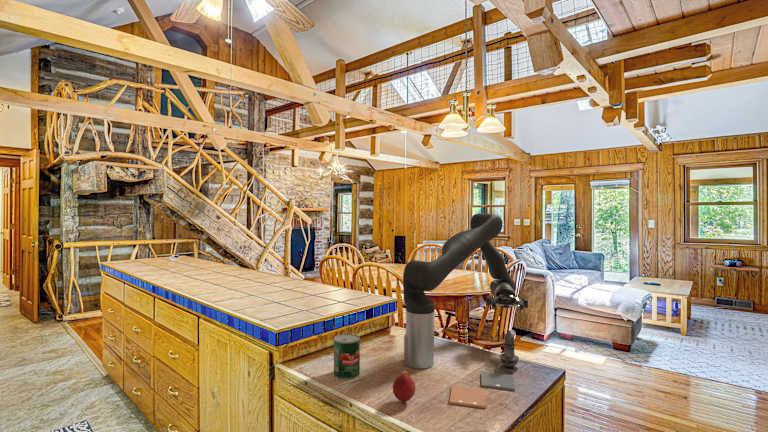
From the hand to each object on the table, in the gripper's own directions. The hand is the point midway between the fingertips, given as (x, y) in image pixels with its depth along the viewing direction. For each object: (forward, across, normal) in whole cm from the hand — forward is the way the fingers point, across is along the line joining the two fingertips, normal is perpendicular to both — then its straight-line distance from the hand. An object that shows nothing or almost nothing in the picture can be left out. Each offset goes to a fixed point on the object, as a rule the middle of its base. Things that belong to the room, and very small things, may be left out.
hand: (507, 306), depth 132 cm
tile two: (+34, -12, +16) cm, 40 cm away
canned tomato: (+30, -48, +16) cm, 59 cm away
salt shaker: (+11, 0, +17) cm, 20 cm away
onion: (+41, -28, +16) cm, 53 cm away
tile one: (+22, -4, +17) cm, 28 cm away
